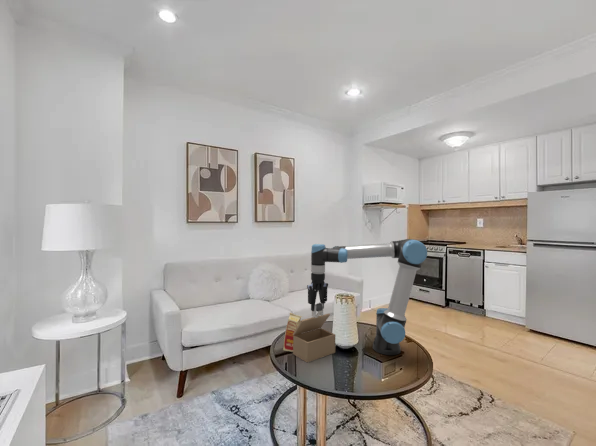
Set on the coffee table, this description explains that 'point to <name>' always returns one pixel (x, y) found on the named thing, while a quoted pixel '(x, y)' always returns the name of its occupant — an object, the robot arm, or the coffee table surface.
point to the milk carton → (290, 331)
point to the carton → (313, 344)
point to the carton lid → (312, 322)
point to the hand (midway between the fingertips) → (317, 315)
